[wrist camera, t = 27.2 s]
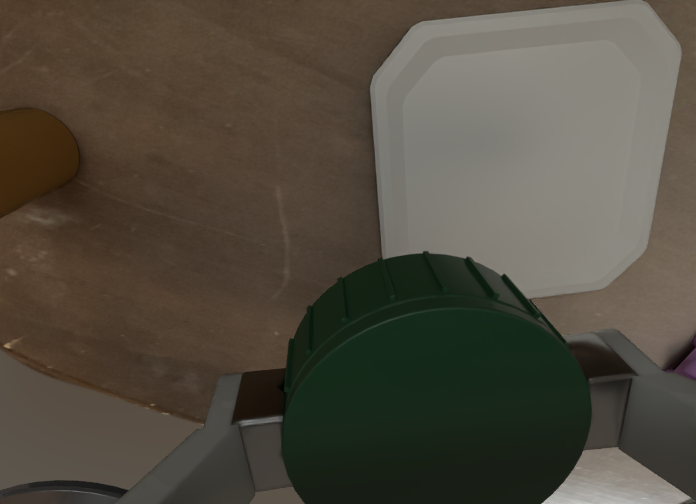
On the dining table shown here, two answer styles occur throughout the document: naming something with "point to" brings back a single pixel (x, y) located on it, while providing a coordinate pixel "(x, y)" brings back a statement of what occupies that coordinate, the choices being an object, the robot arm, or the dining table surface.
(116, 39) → the dining table surface
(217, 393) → the robot arm
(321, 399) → the lid
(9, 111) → the jar
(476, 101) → the plate
